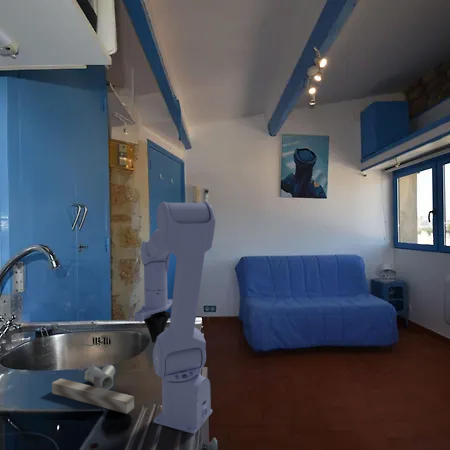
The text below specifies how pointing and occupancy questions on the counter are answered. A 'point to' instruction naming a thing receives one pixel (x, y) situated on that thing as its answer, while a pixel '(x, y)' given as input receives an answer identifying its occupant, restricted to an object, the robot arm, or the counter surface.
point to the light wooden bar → (94, 394)
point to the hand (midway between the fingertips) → (156, 341)
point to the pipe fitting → (106, 375)
